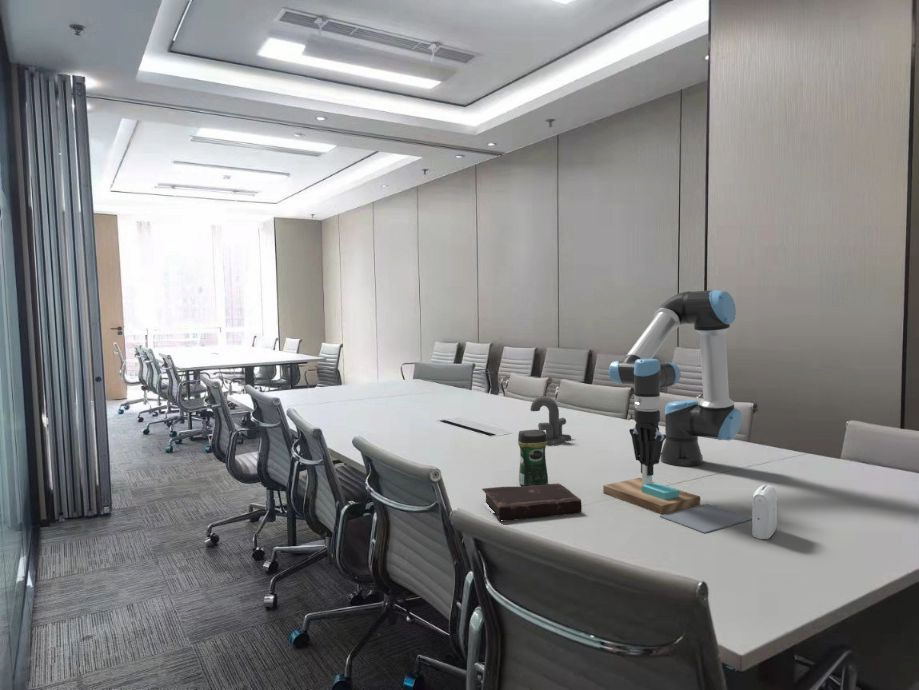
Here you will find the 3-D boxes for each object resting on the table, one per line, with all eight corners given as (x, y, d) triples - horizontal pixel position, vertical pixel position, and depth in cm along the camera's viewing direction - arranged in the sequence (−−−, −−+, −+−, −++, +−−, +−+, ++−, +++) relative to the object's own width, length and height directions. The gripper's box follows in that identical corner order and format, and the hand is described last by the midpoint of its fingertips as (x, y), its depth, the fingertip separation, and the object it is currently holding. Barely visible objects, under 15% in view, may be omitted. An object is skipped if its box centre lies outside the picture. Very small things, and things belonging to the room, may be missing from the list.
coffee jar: (542, 480, 208) (542, 427, 207) (550, 486, 200) (550, 431, 199) (515, 482, 206) (515, 428, 205) (522, 488, 198) (521, 433, 197)
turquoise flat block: (656, 489, 186) (656, 482, 186) (679, 496, 179) (679, 490, 178) (641, 492, 184) (641, 485, 184) (664, 499, 176) (664, 493, 176)
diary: (582, 516, 173) (582, 499, 173) (499, 524, 167) (498, 507, 167) (557, 496, 191) (557, 480, 191) (481, 503, 185) (481, 487, 185)
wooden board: (639, 485, 199) (639, 477, 199) (700, 504, 178) (700, 496, 178) (603, 493, 192) (603, 485, 192) (661, 514, 171) (661, 505, 171)
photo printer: (768, 541, 150) (769, 492, 149) (750, 537, 152) (750, 489, 152) (778, 529, 158) (779, 483, 157) (760, 526, 160) (761, 480, 160)
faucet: (540, 434, 283) (540, 392, 282) (571, 438, 274) (571, 394, 273) (521, 442, 269) (520, 397, 268) (553, 446, 260) (552, 400, 258)
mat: (707, 504, 179) (707, 503, 178) (753, 519, 165) (753, 518, 165) (659, 516, 169) (659, 515, 169) (704, 533, 156) (704, 532, 156)
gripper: (622, 407, 188) (622, 481, 190) (654, 413, 177) (654, 492, 178) (640, 405, 192) (640, 478, 193) (672, 411, 180) (672, 488, 182)
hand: (647, 485), depth 186 cm, fingers closed
